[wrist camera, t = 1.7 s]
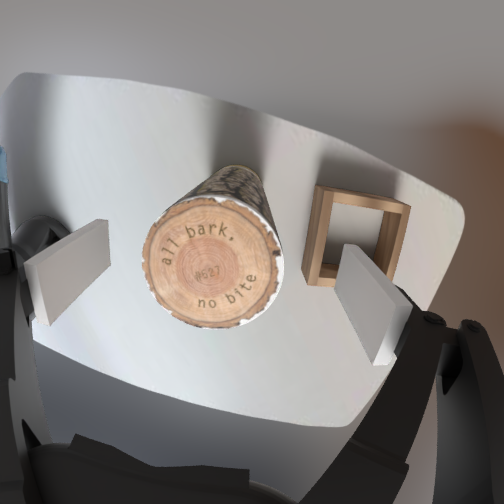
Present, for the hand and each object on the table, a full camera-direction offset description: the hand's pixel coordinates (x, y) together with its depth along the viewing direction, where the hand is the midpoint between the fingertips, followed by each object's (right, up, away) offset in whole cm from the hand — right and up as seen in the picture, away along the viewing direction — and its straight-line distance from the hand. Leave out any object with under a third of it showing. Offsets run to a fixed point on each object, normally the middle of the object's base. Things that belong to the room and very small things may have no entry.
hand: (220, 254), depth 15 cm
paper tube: (0, +8, +22) cm, 23 cm away
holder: (+15, +3, +24) cm, 28 cm away
